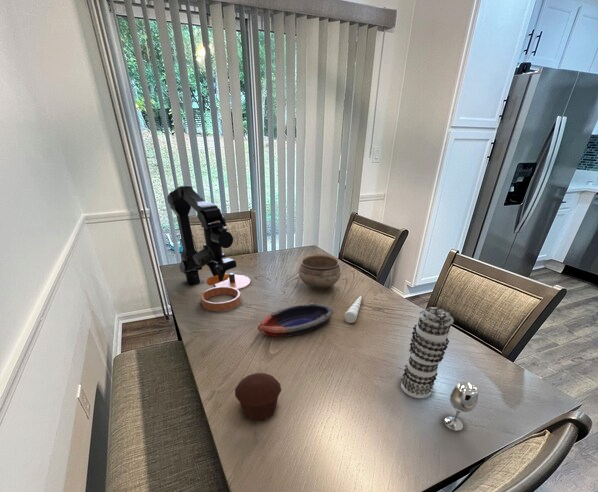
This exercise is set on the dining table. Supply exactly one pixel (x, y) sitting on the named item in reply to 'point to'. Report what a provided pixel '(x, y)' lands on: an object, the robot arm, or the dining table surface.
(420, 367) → the decorative candle
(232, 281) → the lid
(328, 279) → the cooking pot
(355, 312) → the unicorn horn
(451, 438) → the dining table surface
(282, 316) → the dish
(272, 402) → the muffin
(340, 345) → the dining table surface
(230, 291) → the faceted terracotta bowl
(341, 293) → the dining table surface
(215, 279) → the carrot
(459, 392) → the wineglass
